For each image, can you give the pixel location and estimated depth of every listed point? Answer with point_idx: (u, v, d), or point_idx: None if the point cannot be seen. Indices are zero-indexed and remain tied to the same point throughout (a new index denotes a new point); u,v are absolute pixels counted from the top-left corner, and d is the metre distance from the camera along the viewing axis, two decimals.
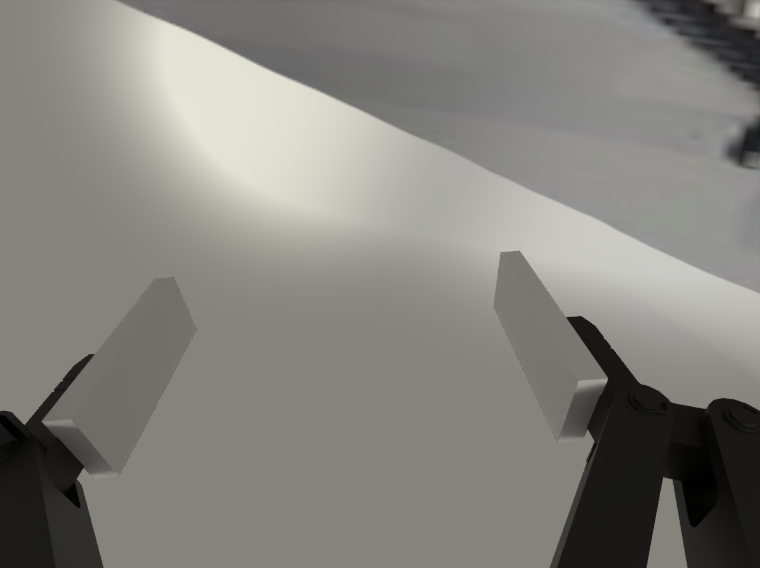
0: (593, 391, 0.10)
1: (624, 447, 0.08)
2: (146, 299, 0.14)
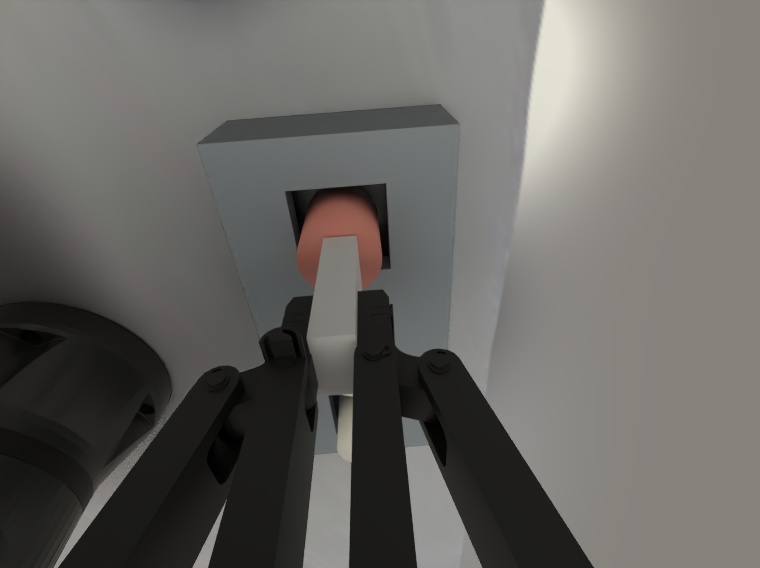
0: (348, 346, 0.12)
1: (370, 395, 0.10)
2: (328, 252, 0.16)
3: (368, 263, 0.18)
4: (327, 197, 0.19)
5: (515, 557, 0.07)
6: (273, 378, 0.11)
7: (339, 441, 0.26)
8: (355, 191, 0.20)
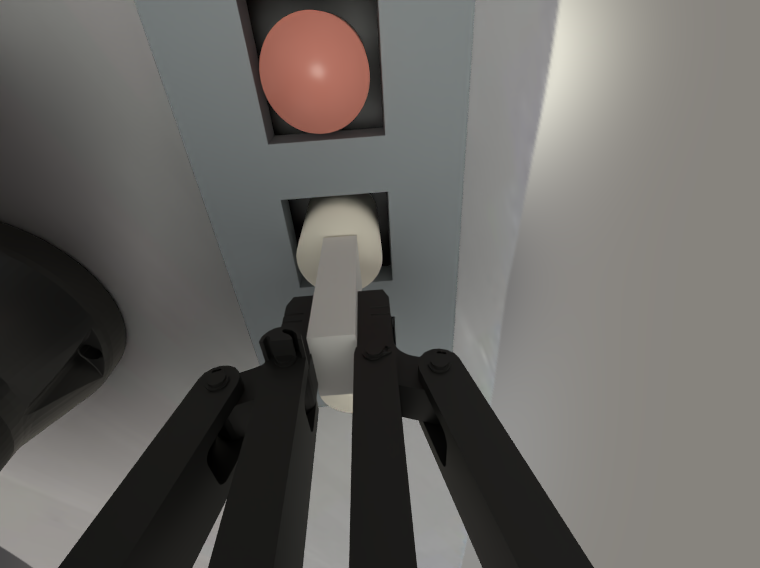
0: (348, 346, 0.12)
1: (370, 395, 0.10)
2: (328, 253, 0.16)
3: (351, 83, 0.14)
4: None
5: (515, 557, 0.07)
6: (273, 378, 0.11)
7: None
8: None
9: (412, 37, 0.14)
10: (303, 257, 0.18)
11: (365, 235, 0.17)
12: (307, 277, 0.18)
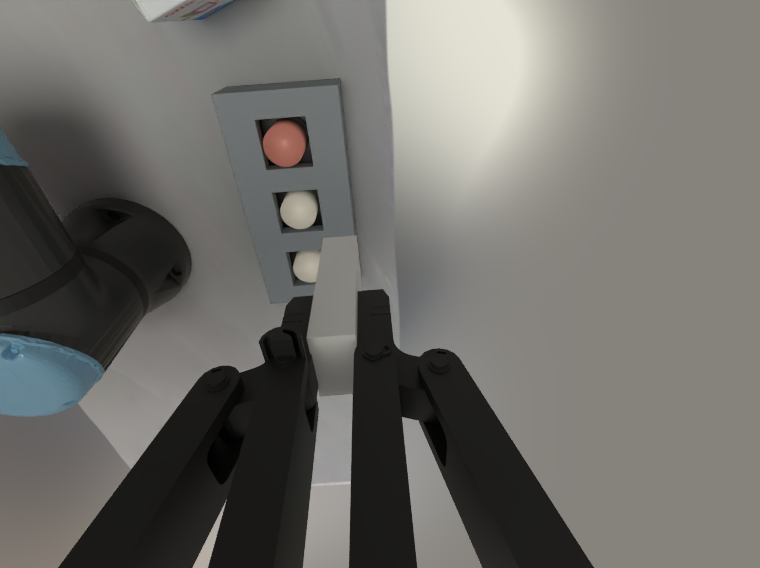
0: (348, 346, 0.12)
1: (370, 395, 0.10)
2: (328, 252, 0.16)
3: (297, 149, 0.38)
4: (279, 120, 0.40)
5: (515, 557, 0.07)
6: (273, 378, 0.11)
7: (294, 263, 0.47)
8: (294, 118, 0.40)
9: (320, 131, 0.38)
10: (283, 212, 0.43)
11: (308, 202, 0.42)
12: (285, 221, 0.44)
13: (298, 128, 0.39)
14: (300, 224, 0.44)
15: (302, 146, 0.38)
